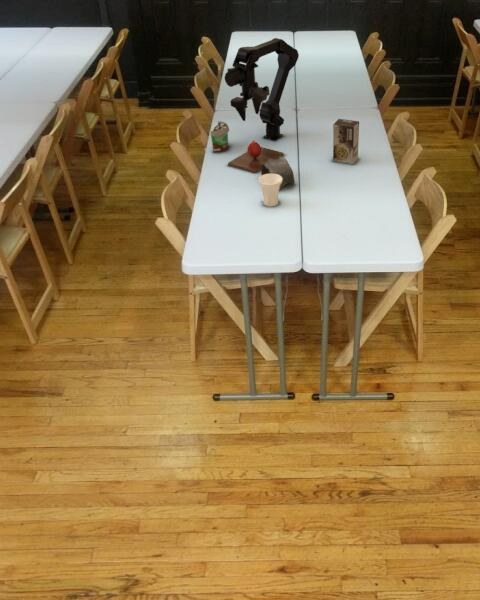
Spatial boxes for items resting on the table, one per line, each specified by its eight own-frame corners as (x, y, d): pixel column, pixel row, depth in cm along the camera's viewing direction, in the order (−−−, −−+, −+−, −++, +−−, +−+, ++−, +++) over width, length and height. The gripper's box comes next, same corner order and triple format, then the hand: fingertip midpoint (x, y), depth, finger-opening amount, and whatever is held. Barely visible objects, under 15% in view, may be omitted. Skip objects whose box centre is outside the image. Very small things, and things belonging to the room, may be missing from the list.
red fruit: (247, 155, 263) (246, 137, 259) (261, 155, 264) (260, 136, 259) (248, 161, 259) (246, 143, 254) (262, 160, 259) (261, 142, 254)
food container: (226, 154, 268) (224, 132, 262) (212, 153, 269) (210, 131, 263) (234, 143, 277) (232, 121, 271) (220, 142, 279) (218, 120, 273)
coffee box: (358, 158, 261) (359, 121, 251) (353, 164, 256) (354, 126, 247) (338, 155, 264) (338, 118, 254) (332, 161, 260) (332, 123, 250)
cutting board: (256, 148, 272) (256, 145, 272) (283, 155, 266) (283, 152, 265) (228, 165, 259) (228, 162, 258) (255, 173, 253) (255, 170, 252)
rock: (257, 173, 252) (256, 155, 248) (284, 169, 255) (283, 151, 250) (268, 193, 238) (267, 174, 234) (297, 189, 241) (296, 170, 236)
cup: (275, 210, 227) (274, 185, 221) (254, 204, 232) (253, 180, 226) (288, 200, 233) (288, 176, 227) (268, 195, 237) (266, 170, 231)
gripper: (250, 90, 247) (252, 128, 257) (277, 76, 259) (278, 113, 269) (228, 85, 252) (231, 123, 262) (255, 72, 265) (257, 109, 274)
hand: (250, 117), depth 266 cm, fingers open, 9 cm apart
